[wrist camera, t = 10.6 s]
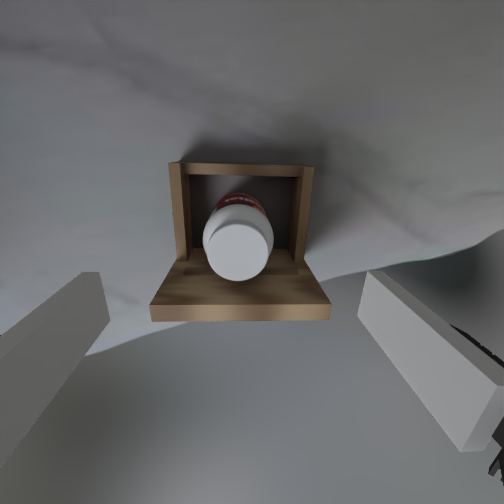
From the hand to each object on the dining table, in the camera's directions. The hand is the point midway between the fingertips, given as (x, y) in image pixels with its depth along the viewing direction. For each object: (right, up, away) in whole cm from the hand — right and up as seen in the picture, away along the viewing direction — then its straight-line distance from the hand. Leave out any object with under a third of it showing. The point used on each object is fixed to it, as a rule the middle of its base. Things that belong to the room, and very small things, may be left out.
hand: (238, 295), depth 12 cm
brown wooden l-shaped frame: (-1, +7, +16) cm, 17 cm away
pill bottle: (-1, +6, +16) cm, 18 cm away
